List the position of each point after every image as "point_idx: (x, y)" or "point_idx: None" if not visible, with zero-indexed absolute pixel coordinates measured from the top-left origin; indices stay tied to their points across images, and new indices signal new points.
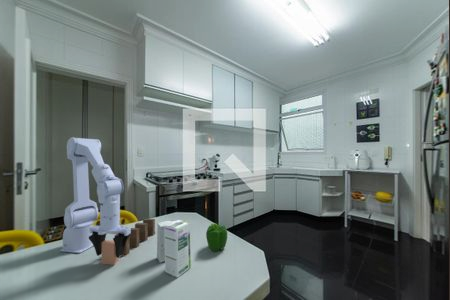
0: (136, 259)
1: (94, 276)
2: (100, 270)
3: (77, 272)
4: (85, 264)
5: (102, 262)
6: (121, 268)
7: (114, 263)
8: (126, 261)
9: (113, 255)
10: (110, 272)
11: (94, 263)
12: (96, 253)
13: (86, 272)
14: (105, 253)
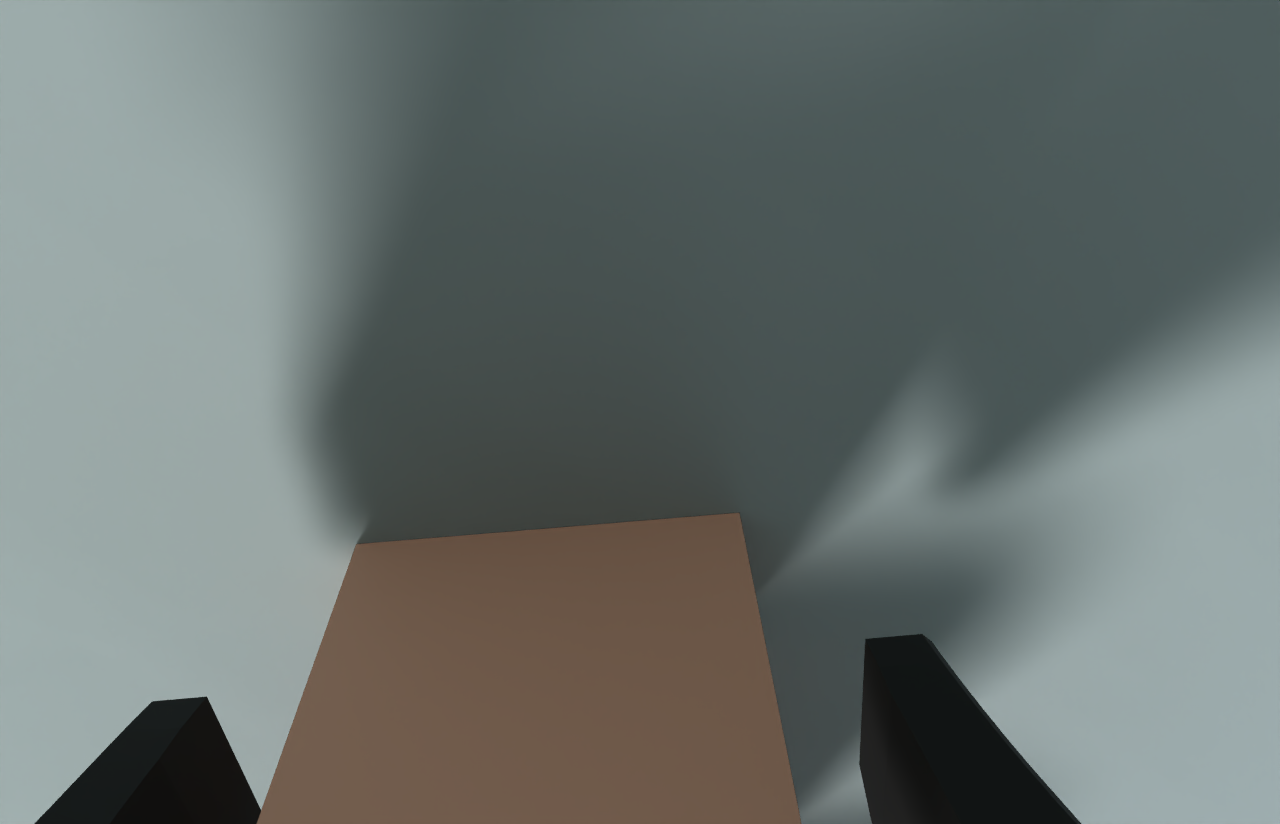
0: (63, 770)
1: (338, 41)
2: (460, 296)
3: (1065, 59)
4: (1140, 388)
5: (711, 531)
6: (7, 482)
7: (355, 568)
8: (201, 683)
9: (317, 727)
10: (91, 297)
11: (922, 470)
12: (943, 678)
13: (779, 129)
14: (624, 736)
